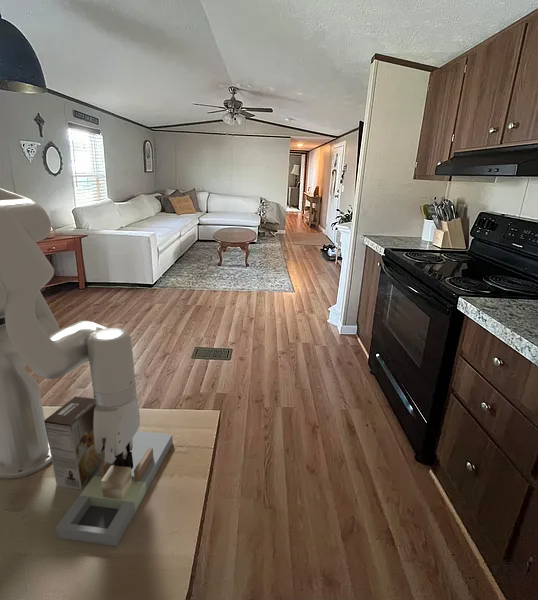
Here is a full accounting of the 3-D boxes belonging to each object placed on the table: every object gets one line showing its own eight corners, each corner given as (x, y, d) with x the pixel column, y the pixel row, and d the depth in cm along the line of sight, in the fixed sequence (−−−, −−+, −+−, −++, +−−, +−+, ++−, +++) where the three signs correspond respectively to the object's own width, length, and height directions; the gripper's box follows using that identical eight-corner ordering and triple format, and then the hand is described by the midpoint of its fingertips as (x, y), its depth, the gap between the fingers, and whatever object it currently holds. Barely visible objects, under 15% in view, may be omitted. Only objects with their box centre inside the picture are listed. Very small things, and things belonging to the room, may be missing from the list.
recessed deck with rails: (57, 537, 66) (53, 516, 65) (129, 438, 92) (127, 421, 90) (116, 546, 65) (114, 524, 63) (172, 443, 91) (171, 425, 89)
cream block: (103, 497, 72) (100, 480, 70) (113, 481, 75) (111, 465, 74) (123, 499, 71) (121, 482, 70) (132, 483, 75) (130, 467, 74)
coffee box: (84, 455, 86) (75, 394, 81) (109, 460, 84) (102, 398, 79) (54, 485, 77) (43, 419, 72) (82, 491, 76) (72, 425, 71)
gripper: (115, 371, 79) (124, 444, 84) (73, 413, 65) (86, 496, 70) (150, 374, 78) (156, 447, 84) (114, 417, 64) (124, 501, 70)
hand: (124, 469), depth 77 cm, fingers closed
